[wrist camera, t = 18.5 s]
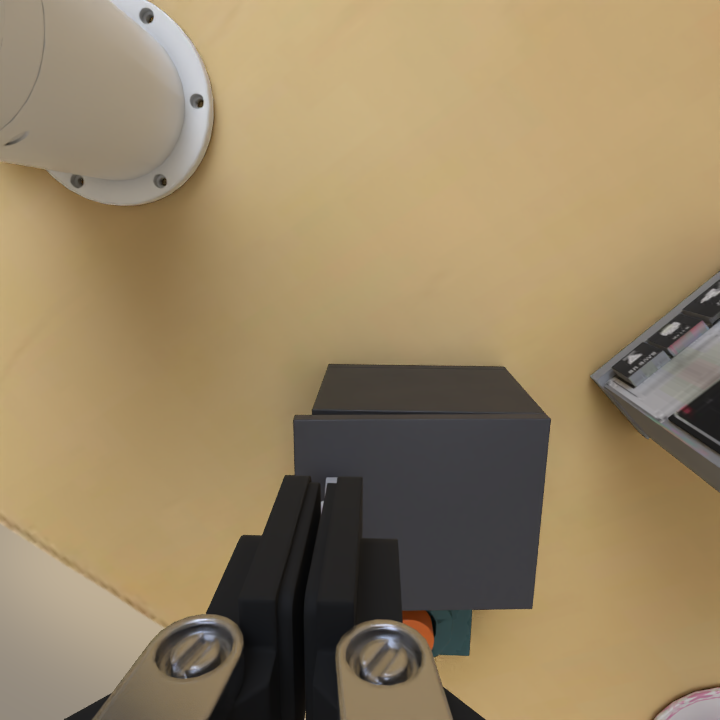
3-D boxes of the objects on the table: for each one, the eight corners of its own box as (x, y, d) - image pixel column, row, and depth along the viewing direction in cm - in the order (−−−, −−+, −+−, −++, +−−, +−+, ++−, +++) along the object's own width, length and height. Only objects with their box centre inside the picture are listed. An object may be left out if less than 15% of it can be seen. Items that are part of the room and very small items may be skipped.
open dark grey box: (329, 508, 41) (314, 593, 32) (328, 364, 39) (311, 409, 29) (493, 512, 41) (528, 599, 31) (504, 366, 38) (546, 413, 29)
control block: (343, 631, 44) (339, 670, 40) (342, 545, 42) (339, 578, 38) (464, 635, 44) (473, 675, 40) (470, 548, 42) (479, 582, 38)
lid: (299, 603, 31) (290, 678, 26) (294, 414, 28) (283, 456, 23) (528, 599, 31) (563, 673, 26) (545, 413, 29) (589, 454, 23)
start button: (382, 643, 40) (382, 661, 38) (383, 602, 39) (383, 619, 37) (430, 644, 40) (433, 663, 38) (432, 603, 39) (435, 620, 37)
